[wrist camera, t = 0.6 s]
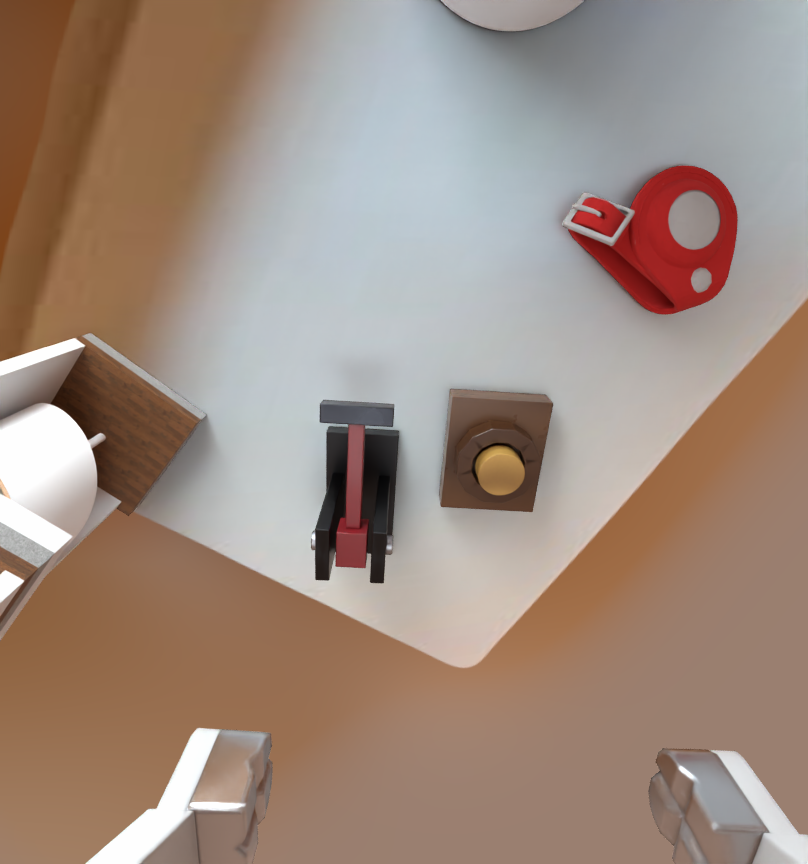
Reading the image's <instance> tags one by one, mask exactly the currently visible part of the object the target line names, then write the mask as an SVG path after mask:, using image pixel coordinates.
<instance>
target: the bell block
mask: <svg viewBox="0 0 808 864" xmlns="http://www.w3.org/2000/svg"><path fill="white" fill-rule="evenodd" d="M552 407H553V403H552V401H551V400H550V399H549V398H548V397H547V396H546V395H541V394H525V393H509V392H492V391H476V390H460V389H450V395H449V404H448V414H447V424H446V433H445V443H444V453H443V462H442V472H441V481H440V491H439V497H440V504H441V507H453V508H471V509H488V510H506V511H523V512H533V507H534V502H535V496H536V491H537V486H538V481H539V475H540V470H541V465H542V460H543V454H544V449H545V444H546V439H547V433H548V428H549V423H550V418H551V412H552ZM494 445H505V446H508V447H510V448H512V449H513V450H514V451H516V453H517V454H518V456H519V458H520V460H521V462H522V464H523V466H524V469H525V477H524V480H523V482H522V484H521V485H520V487H519V488H518V489H516V490H515V491H514V492H512V493H510V494H506V495H493V494H490V493H488V492H487V491H485V490H484V489H483V488H482V487H481V485H480V483H479V481H478V477H477V474H476V470H475V463H476V460H477V457H478V456H479V454H480V453H481V452H482V451H483V450H485V449H486V448H488V447H490V446H494Z"/></svg>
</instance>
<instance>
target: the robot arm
mask: <svg viewBox="0 0 808 864" xmlns="http://www.w3.org/2000/svg"><path fill="white" fill-rule="evenodd" d="M441 1H442V2H443V3H444V4H445V5H446V6H447V7H448V8H449V9H451V10H452V11H453V12H455V13H456V14H457V15H459V16H460V17H462V18H464V19H465V20H467V21H469V22H471V23H473V24H476V25H478V26H481V27H484V28H487V29H492V30H498V31H523V30H530V29H534V28H538V27H541V26H544V25H546V24H549V23H551V22H554V21H555V20H557V19H559V18H561V17H563V16H564V15H566V14H568V13H569V12H571V11H572V10H574V9H575V8H576V7H578V6H579V5H580V4H581V3H582V2H583V1H585V0H441ZM271 747H272V741H271V733H265V732H251V731H238V730H224V729H222V730H221V729H205V728H197V729H196V731H195V732H194V733H193V734H192V735H191V737H190V739H189V741H188V744H187V746H186V748H185V750H184V752H183V754H182V756H181V758H180V760H179V763H178V765H177V767H176V769H175V771H174V773H173V775H172V777H171V779H170V781H169V784H168V786H167V788H166V790H165V792H164V794H163V796H162V798H161V800H160V802H159V805H158V807H157V809H148V810H147V811H146V812H145V813H144V814H142V815H141V816H140V817H139V818H138V819H137V820H135V821H134V822H133V823H132V824H131V825H130V826H128V827H127V828H126V829H125V830H124V831H123V832H122V833H120V834H119V835H118V836H117V837H116V838H115V839H114V840H112V841H111V842H110V843H109V844H108V845H106V847H104V848H103V849H102V850H101V851H100V852H98V853H97V854H96V855H95V856H94V857H93V858H91V859H90V860H89V861H88V862H87V863H86V864H253V860H254V856H255V852H256V849H257V845H258V824H259V823H260V822H261V821H262V820H263V819H264V818H265V814H266V810H267V806H268V802H269V796H270V790H271V784H272V762H271V761H270V759H269V754H270V750H271ZM656 763H657V765H658V767H659V769H660V771H659V772H658V773H657V774H655V775H654V776H653V777H652V778H651V781H650V786H649V800H650V807H651V811H652V814H653V818H654V820H655V822H656V825H657V827H658V829H659V831H660V833H661V834H662V835H663V836H664V837H665V838H666V839H667V840H668V841H669V842H670V843H671V844H672V845H673V846H674V850H673V857H672V859H673V861H674V863H675V864H808V835H802V834H798V832H797V831H796V830H795V828H794V827H793V826H792V825H791V823H790V821H789V820H788V818H787V817H786V816H785V815H784V813H783V812H782V810H781V809H780V808H779V806H778V805H777V804H776V802H775V801H774V799H773V798H772V797H771V795H770V794H769V792H768V791H767V790H766V788H765V787H764V786H763V784H762V783H761V781H760V780H759V779H758V777H757V776H756V775H755V773H754V772H753V771H752V769H751V768H750V766H749V765H748V764H747V762H746V761H745V759H744V758H743V757H742V756H741V755H740V754H738V753H737V752H736V751H716V750H710V751H709V750H701V749H699V750H698V749H664V748H663V749H662V750H661V751H659V752H658V755H657V759H656Z"/></svg>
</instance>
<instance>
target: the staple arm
mask: <svg viewBox="0 0 808 864" xmlns="http://www.w3.org/2000/svg"><path fill="white" fill-rule="evenodd" d="M393 419H394V404H383V403H367V402H350V401H334V400H323V401H322V402H321V404H320V422H321V423H336V424H349V427H348V459H347V490H346V518H340V522H339V525H338V529H337V533H336V567H354V568H366V560H367V553H368V535H369V519H361V517H362V494H363V470H364V446H365V425H369V426H386V427H393Z"/></svg>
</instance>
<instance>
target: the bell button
mask: <svg viewBox="0 0 808 864" xmlns="http://www.w3.org/2000/svg"><path fill="white" fill-rule="evenodd" d="M475 470H476V474H477V477H478V481H479V483H480V485H481V487H482V488H483V489H484V490H485V491H487V492H488V493H490V494H493V495H506V494H510V493H512V492H514V491H515V490H516V489H518V488H519V487H520V485H521V484H522V482H523V480H524V477H525V469H524V466H523V464H522V462H521V460H520V458H519V456H518V454H517V453H516V451H514V450H513V449H512V448H510V447H508V446H505V445H494V446H490V447H488V448H486V449H485V450H483V451H482V452H481V453H480V454H479V456H478V457H477V460H476V463H475Z"/></svg>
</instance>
